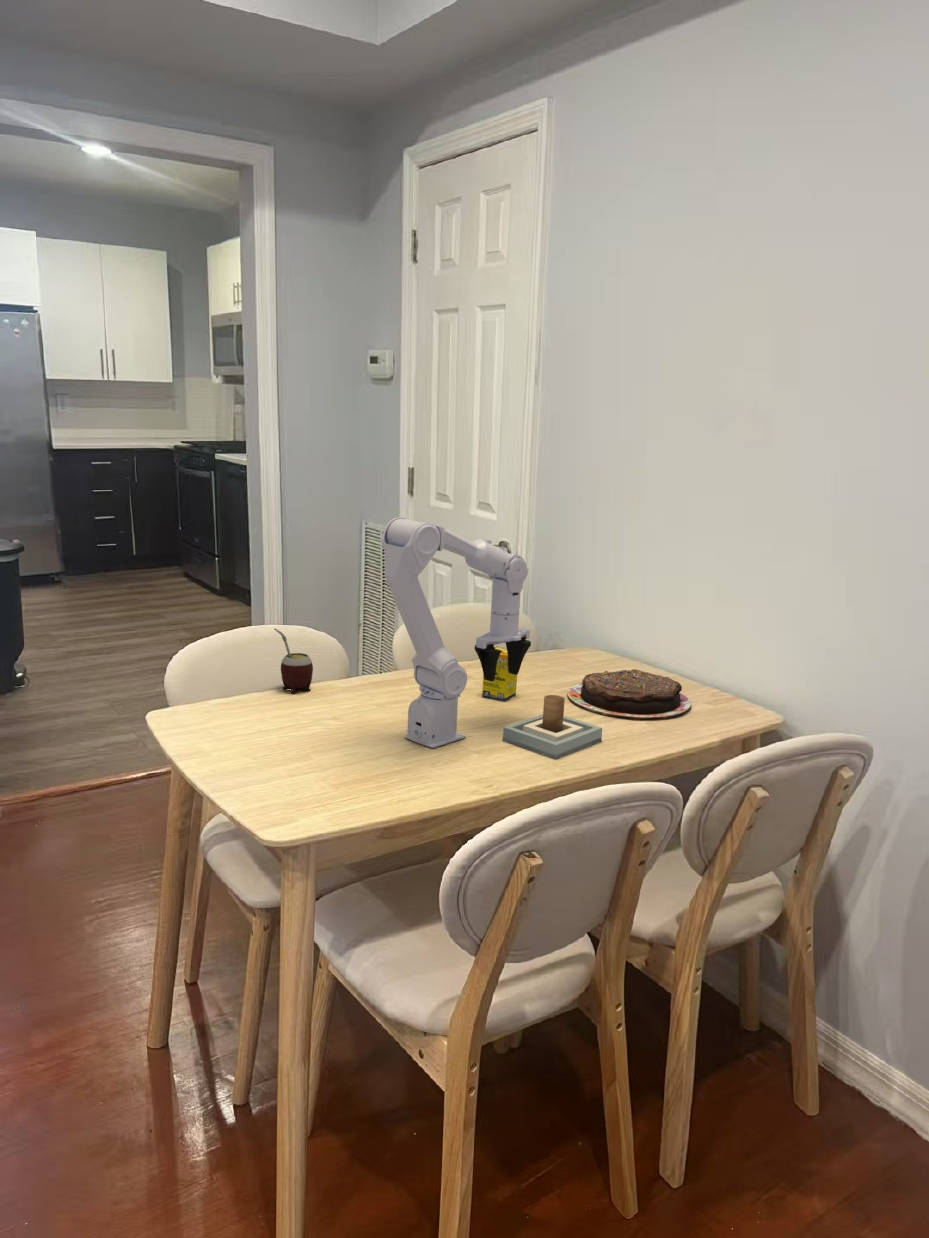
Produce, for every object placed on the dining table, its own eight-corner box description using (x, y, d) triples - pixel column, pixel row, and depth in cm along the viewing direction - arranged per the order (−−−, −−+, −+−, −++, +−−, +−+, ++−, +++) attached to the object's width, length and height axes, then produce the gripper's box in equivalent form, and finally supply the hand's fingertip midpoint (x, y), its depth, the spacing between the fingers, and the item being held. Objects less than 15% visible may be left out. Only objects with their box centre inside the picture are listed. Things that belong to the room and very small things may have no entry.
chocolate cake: (541, 698, 208) (543, 670, 207) (615, 678, 227) (617, 653, 226) (643, 731, 188) (645, 701, 187) (714, 707, 207) (717, 679, 206)
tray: (555, 759, 169) (556, 745, 169) (502, 740, 178) (503, 727, 177) (601, 741, 180) (602, 727, 180) (549, 724, 189) (550, 711, 188)
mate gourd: (316, 686, 207) (316, 622, 204) (306, 697, 199) (307, 630, 196) (284, 684, 208) (284, 620, 204) (273, 694, 200) (273, 628, 197)
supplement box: (481, 697, 205) (483, 650, 203) (493, 691, 210) (495, 645, 208) (505, 702, 202) (508, 654, 200) (516, 695, 208) (519, 649, 205)
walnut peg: (552, 741, 176) (554, 702, 175) (537, 735, 179) (539, 697, 177) (566, 737, 179) (568, 698, 177) (551, 732, 182) (554, 693, 180)
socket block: (556, 747, 173) (557, 736, 173) (522, 736, 179) (523, 725, 178) (582, 738, 179) (583, 727, 179) (548, 727, 185) (549, 716, 184)
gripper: (496, 620, 175) (492, 687, 178) (542, 611, 186) (538, 675, 189) (469, 614, 180) (466, 679, 183) (516, 605, 190) (512, 667, 193)
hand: (501, 676), depth 186 cm, fingers open, 7 cm apart
